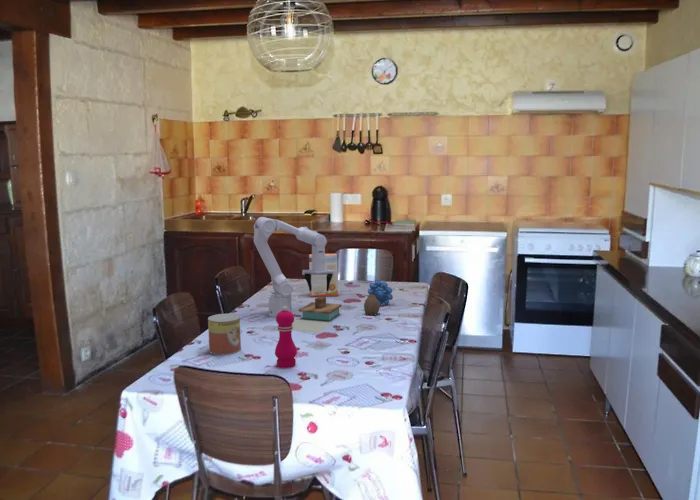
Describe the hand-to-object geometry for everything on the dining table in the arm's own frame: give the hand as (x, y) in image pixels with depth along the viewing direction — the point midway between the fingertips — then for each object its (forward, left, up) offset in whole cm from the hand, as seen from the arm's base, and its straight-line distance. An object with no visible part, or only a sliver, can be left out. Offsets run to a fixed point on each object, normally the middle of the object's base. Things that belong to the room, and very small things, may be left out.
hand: (319, 290), depth 273 cm
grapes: (+23, +18, -10) cm, 31 cm away
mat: (+5, -25, -9) cm, 27 cm away
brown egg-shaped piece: (+24, +2, -10) cm, 26 cm away
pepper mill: (+17, -70, -10) cm, 73 cm away
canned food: (-11, -62, -10) cm, 64 cm away
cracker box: (-10, +30, -10) cm, 33 cm away
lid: (+5, -11, -5) cm, 13 cm away
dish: (+5, -10, -9) cm, 15 cm away
